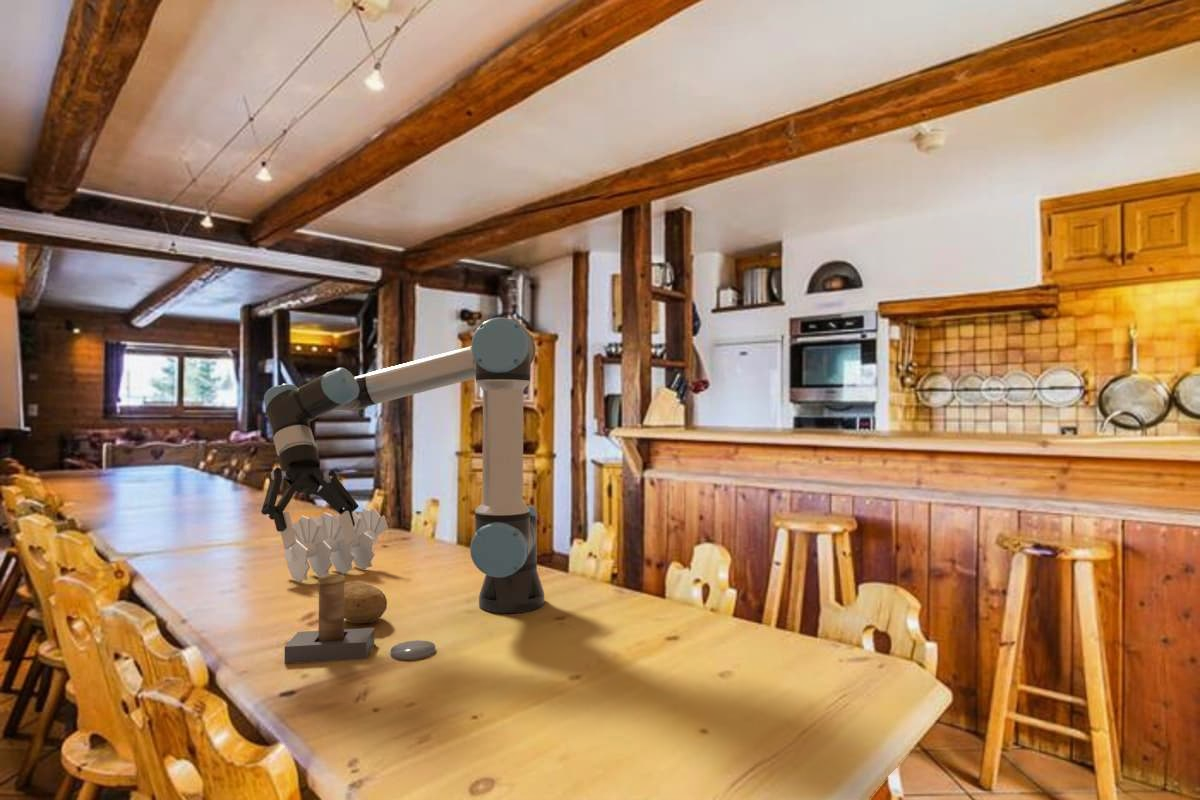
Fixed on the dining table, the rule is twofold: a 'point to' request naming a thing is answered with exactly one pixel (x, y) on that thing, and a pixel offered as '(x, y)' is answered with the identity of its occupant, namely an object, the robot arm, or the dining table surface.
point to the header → (329, 646)
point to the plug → (331, 607)
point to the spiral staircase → (333, 544)
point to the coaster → (412, 650)
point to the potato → (363, 602)
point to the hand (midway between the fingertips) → (322, 544)
